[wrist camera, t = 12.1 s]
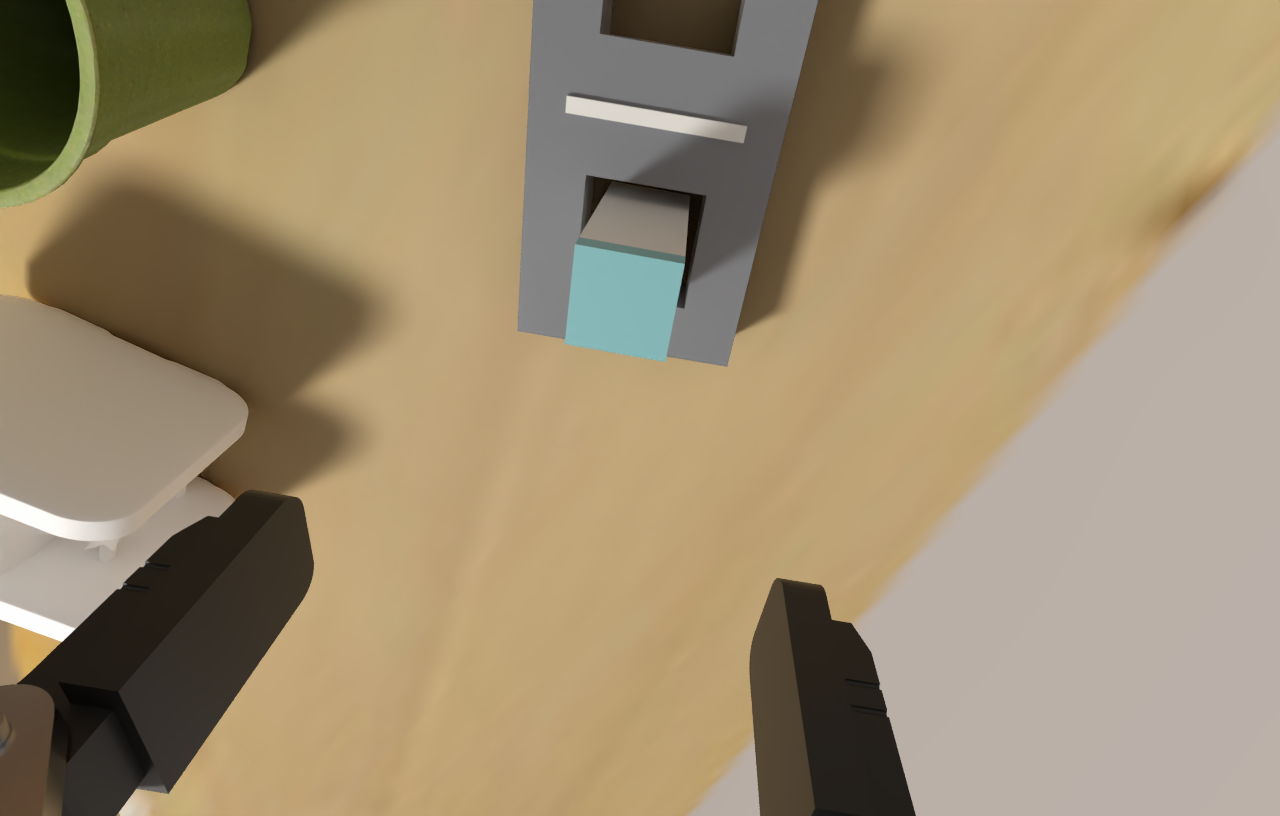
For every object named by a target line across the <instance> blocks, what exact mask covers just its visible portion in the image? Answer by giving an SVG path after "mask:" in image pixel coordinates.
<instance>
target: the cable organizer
mask: <svg viewBox="0 0 1280 816" xmlns="http://www.w3.org/2000/svg"><path fill="white" fill-rule="evenodd" d="M248 413H249V410H248V407H247V404H246V403H245V401H244V400H243V399H242V398H241V397H240V396H239V395H238V394H237V393H235V392H234V391H233V390H231V389H229V388H227V387H226V386H225V385H224V384H223V383H222V382H220V381H218V380H216V379H214V378H211V377H209V376H207V375H204V374H202V373H200V372H197V371H195V370H193V369H190V368H188V367H186V366H183V365H181V364H179V363H176V362H173V361H169V360H166V359H164V358H162V357H160V356H157V355H155V354H153V353H151V352H149V351H146V350H144V349H142V348H140V347H138V346H135V345H133V344H131V343H129V342H127V341H124V340H122V339H120V338H118V337H116V336H113V335H112V334H111V333H110V332H108V331H107V330H105V329H103V328H101V327H98V326H96V325H94V324H92V323H90V322H88V321H85V320H83V319H81V318H79V317H77V316H74V315H72V314H70V313H68V312H66V311H63V310H61V309H58V308H55V307H50V306H47V305H45V304H42V303H40V302H37V301H34V300H30V299H27V298H22V297H17V296H11V295H1V294H0V619H1V620H3V621H6V622H9V623H12V624H14V625H17V626H20V627H23V628H25V629H28V630H31V631H34V632H37V633H39V634H42V635H45V636H48V637H50V638H53V639H56V640H59V641H61V642H62V641H63V640H65V639H66V638H67V637H68V636H69V635H70V634H71V633H72V632H73V631H74V630H75V629H76V628H77V627H78V626H79V625H80V624H81V623H82V622H83V621H84V620H85V619H86V618H87V617H88V616H89V615H90V614H91V613H92V612H94V611H95V610H96V609H97V608H98V607H99V606H100V605H101V604H102V603H103V602H104V601H105V600H106V599H107V598H108V597H109V596H110V595H111V594H112V593H113V592H114V591H115V590H116V589H121V588H122V586H123V583H124V582H125V581H126V580H127V579H128V578H129V577H130V576H131V575H132V574H133V573H134V572H135V571H136V570H137V569H138V568H139V567H144V565H145V561H146V560H147V559H148V558H149V557H151V556H152V555H153V554H154V553H155V552H156V551H157V550H158V549H159V548H160V547H161V546H162V545H163V544H164V543H165V542H166V541H167V540H168V539H169V538H170V537H171V536H172V535H174V534H176V533H178V532H180V531H181V530H183V529H185V528H187V527H188V526H190V525H192V524H194V523H196V522H197V521H199V520H201V519H203V518H204V517H206V516H213V517H219V516H220V515H221V514H222V513H223V512H224V511H225V510H226V509H227V508H228V507H229V506H230V505H231V504H232V503H233V502H234V501H235V499H234V498H233V497H232V496H231V495H230V494H228V493H227V492H226V491H224V490H222V489H220V488H218V487H216V486H214V485H213V484H212V483H210V482H209V481H207V480H204V479H202V478H200V477H197V475H198V474H200V473H201V472H203V470H204V469H205V468H206V467H207V466H209V465H210V464H211V463H212V462H213V461H214V460H215V459H217V458H218V457H219V456H220V455H221V454H222V453H223V452H224V451H226V450H227V449H228V448H229V447H230V446H231V445H232V444H233V443H235V442H236V441H237V440H238V439H239V438H240V437H241V436H242V435H243V433H244V431H245V427H246V422H247V418H248Z"/></svg>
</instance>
